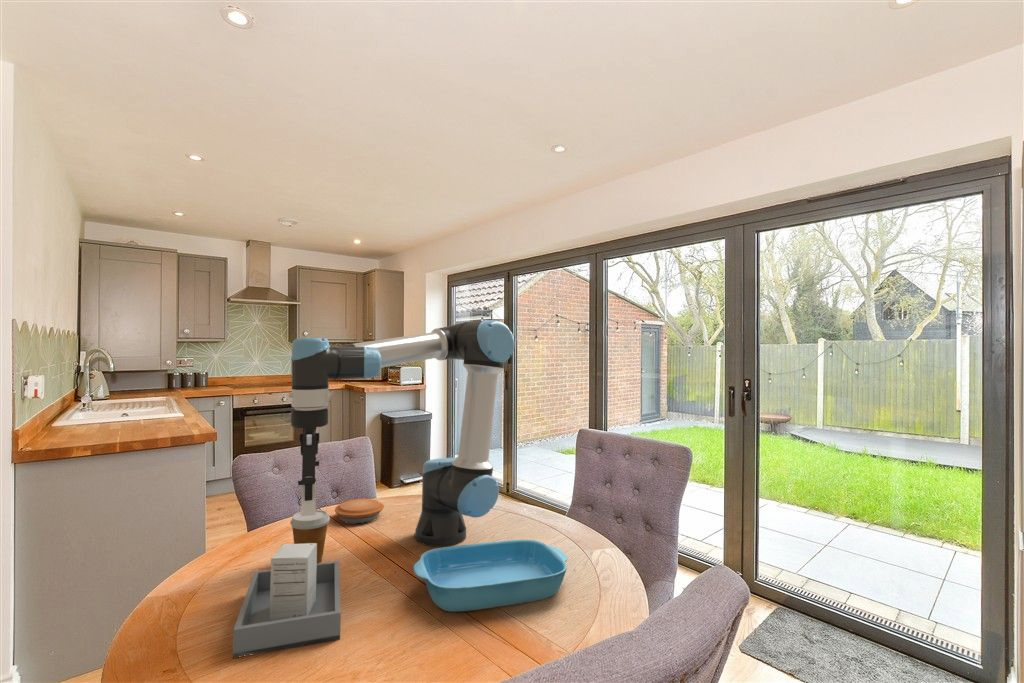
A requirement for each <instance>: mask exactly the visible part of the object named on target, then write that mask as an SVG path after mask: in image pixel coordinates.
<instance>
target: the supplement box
mask: <svg viewBox="0 0 1024 683" xmlns="http://www.w3.org/2000/svg"><path fill="white" fill-rule="evenodd" d="M270 569H271V578H270V618H269V620H270V621H275V620H282V619H288V618H294V617H300V616H307V615H309V613H310V611H311V609H312V607H313V605H314V603H315V601H316V569H317V543H304V544H294V543H286V544H285V543H284V544H281V546H280V547H279V548H278V550H277V551H276V552H275V553H274V554H273V556H271V558H270Z"/></svg>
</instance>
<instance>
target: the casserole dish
mask: <svg viewBox="0 0 1024 683" xmlns="http://www.w3.org/2000/svg"><path fill="white" fill-rule="evenodd" d="M567 561H568V556H567V554H566V553H565V552H564V551H563V550H561V549H560V548H558V547H556V546H552V545H549V544H546V543H545V542H543V541H540V540H535V539H510V540H509V539H508V540H498V541H488V542H480V543H479V542H478V543H470V544H469V543H468V544H462V545H461V544H459V545H449V546H441V547H438V548H432V549H429V550H427V551H425V552H424V553H422V554H421V555H420V559H419V560H418V561H416V562H415V564H414V565H413V567H412V568H413V570H412V571H413V572H414V574H415V576H416V577H417V578H419V580H422V581H424V582H425V585H426V588H427V591H428V594H429V596H430V598H431V599H432V601H433V603H434V604H435V605H436V606H437V607H438V608H440V609H442V610H443V611H445V612H450V613H452V612H453V613H456V612H459V613H460V612H470V611H477V610H479V611H480V610H486V609H492V608H500V607H503V606H506V607H507V606H513V605H520V604H525V603H531V602H535V601H536V602H537V601H541V600H545V599H548V598H550V597H552V596H553V595H555V594H556V593H557V592H558V591H559V590H560V587H561V586H562V584H563V580H564V578H565V575H566V572H567V569H568V565H567V563H566V562H567Z"/></svg>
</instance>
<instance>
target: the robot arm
mask: <svg viewBox="0 0 1024 683" xmlns="http://www.w3.org/2000/svg"><path fill="white" fill-rule="evenodd" d="M514 337H515V336H514V334H513V333H512V331H511V330H510V328H509V326H508V325H507V324H505V323H504V322H502V321H499V320H492V319H485V320H475V321H463V322H459V323H456V324H451V325H448V326H443V327H438V328H434V329H433V330H432V331H431V332H427V333H420V334H411V335H405V336H399V337H397V336H396V337H392V338H391V337H390V338H385V339H384V338H383V339H376V340H370V341H369V340H368V341H364V342H356V343H351V344H350V343H349V344H343V345H336V346H335V345H334V346H333V345H330V343H329V339H328V338H326V337H297V338H295V339H294V340H293V341H292V347H291V356H290V361H291V393H288V395H287V397H288V398H291V400H290V401H291V402H290V403H291V404H290V405H291V408H293V409H292V410H291V412H290V425H291V427H292V428H296V429H303V433H300V434H299V435H300V436H299V445H300V455H301V456H302V461H301V462H302V463H301V464H302V465H301V467H302V469H301V480H298V481H297V483H298V484H297V485H298V486H301V488H300V489H301V492H300V494H301V497H300V498H301V500H300V501H301V502H300V503H301V507H300V508H301V509H300V512H301V517H302V516H310V515H316V510H317V508H316V502H317V500H316V498H317V497H316V496H317V467H319V466H320V461H319V460H317V456H316V455H317V454H319V444H320V432H317V431H316V430H317V428H322V427H325V426H327V425H328V424H329V409H328V405H329V399H330V398H329V397H330V396H329V395H330V393H329V390H330V389H329V381H335V380H359V379H360V380H366V379H375V378H376V377H378V376H379V374H380V373H381V369H382V368H385V367H386V368H387V367H391V366H398V365H399V366H400V365H403V364H409V363H414V362H421V361H426V360H432V359H436V360H437V361H445V360H463V365H462V366H463V367H464V368H465V370H466V372H467V377H466V385H465V386H466V387H465V392H464V393H465V394H464V402H463V411H462V418H461V420H462V421H461V427H460V436H459V443H458V444H459V445H458V452H457V457H442V458H434V459H430V460H426V461H425V462H424V463H423V465H422V474H421V475H422V480H421V481H422V482H421V488H422V490H421V513H420V516H419V518H418V522H417V524H416V527H415V532H414V539H415V541H416V542H417V543H419V544H421V545H424V546H428V547H450V546H455V545H457V544H459V543H462V542H464V540H465V539H466V538H467V525H466V523H465V519H464V516H465V517H466V516H467V517H470V518H475V519H477V518H481V517H483V516H485V515H487V514H489V512H491V509H494V507H495V505H496V503H497V502H498V499H499V495H500V494H499V493H500V488H499V483H498V482H497V480H496V478H494V476H493V470H494V466H493V464H492V463H491V462H490V459H489V458H490V448H491V441H492V440H491V438H492V430H493V421H494V412H495V405H496V404H495V403H496V402H495V401H496V395H497V394H496V393H497V385H498V376H499V374H500V373H502V372H503V371H504V369H505V362H507V361H508V360H509V359H510V357H512V356H513V353H514V351H515V338H514Z"/></svg>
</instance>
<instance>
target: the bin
mask: <svg viewBox="0 0 1024 683" xmlns="http://www.w3.org/2000/svg"><path fill="white" fill-rule="evenodd" d="M270 578H271V568H270V569H263V570H262V569H261V570H255V571H253V573H252V576H251V579H250V582H249V585H248V587H247V591H246V592H245V593H246V594H245V597H244V599H243V601H242V605H241V607H240V610H239V614H238V617H237V618H236V622H235V625H234V627H233V632H232V634H233V635H232V636H233V638H232V659H235V658H234V657H238V658H240V657H239V656H244V655H249V656H251V655H250V654H255V655H259V654H258V653H261V654H266V653H271V652H277V651H282V650H288V649H292V648H293V649H294V648H299V647H304V646H309V645H316V644H320V643H321V644H323V643H326V642H331V641H337V640H341V614H342V611H341V586H340V585H341V583H340V582H341V580H340V560H335V561H326V562H320V563H317V569H316V601H315V603H314V605H313V607H312V609H311V611H310V613H309V615H307V616H300V617H294V618H288V619H282V620H275V621H270V620H269V618H270ZM265 652H266V653H265ZM244 657H245V656H244Z"/></svg>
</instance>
